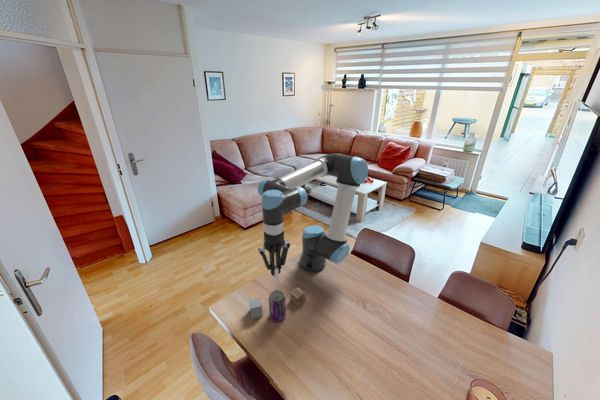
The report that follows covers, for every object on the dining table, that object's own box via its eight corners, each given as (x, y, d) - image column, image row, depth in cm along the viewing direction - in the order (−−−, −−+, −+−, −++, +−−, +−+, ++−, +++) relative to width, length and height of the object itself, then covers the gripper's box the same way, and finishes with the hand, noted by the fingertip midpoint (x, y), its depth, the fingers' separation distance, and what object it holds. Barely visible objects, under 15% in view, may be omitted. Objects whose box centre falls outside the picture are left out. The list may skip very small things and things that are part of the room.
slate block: (261, 307, 118) (260, 297, 116) (262, 315, 114) (262, 306, 111) (250, 310, 117) (249, 300, 114) (251, 318, 113) (250, 308, 110)
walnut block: (298, 295, 125) (298, 287, 123) (305, 300, 122) (305, 292, 120) (290, 300, 122) (290, 292, 120) (297, 306, 119) (297, 298, 117)
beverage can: (285, 322, 110) (284, 302, 106) (268, 322, 111) (267, 301, 106) (286, 309, 117) (285, 289, 112) (270, 309, 117) (269, 289, 112)
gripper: (285, 222, 102) (286, 270, 111) (253, 230, 96) (257, 279, 106) (293, 231, 95) (294, 280, 105) (260, 239, 90) (264, 291, 100)
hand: (275, 280), depth 105 cm, fingers closed
